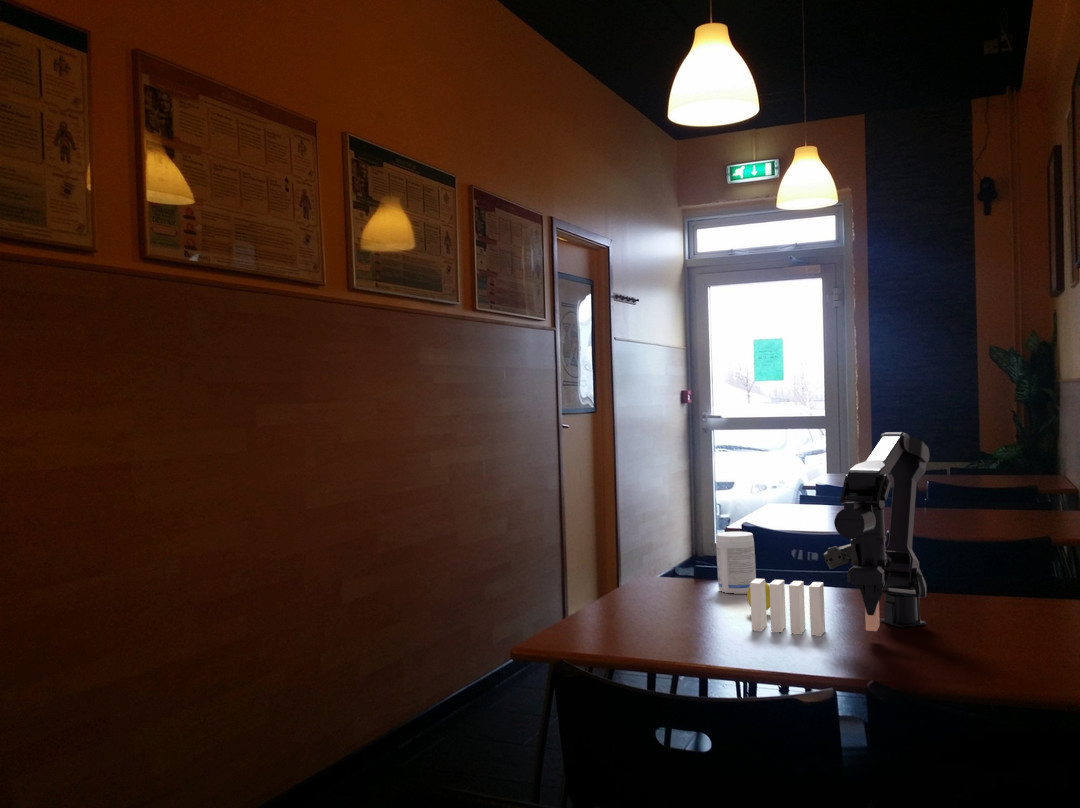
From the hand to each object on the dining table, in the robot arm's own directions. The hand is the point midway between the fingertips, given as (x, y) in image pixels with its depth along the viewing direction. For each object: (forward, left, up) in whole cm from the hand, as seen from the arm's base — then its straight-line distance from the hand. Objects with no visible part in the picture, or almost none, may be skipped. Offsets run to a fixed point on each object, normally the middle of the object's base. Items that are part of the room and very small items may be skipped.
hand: (872, 612), depth 168 cm
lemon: (+7, -30, -6) cm, 31 cm away
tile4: (+11, -16, -6) cm, 20 cm away
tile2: (+5, -10, -6) cm, 13 cm away
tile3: (+8, -13, -6) cm, 17 cm away
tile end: (+14, -19, -6) cm, 24 cm away
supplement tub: (-1, -54, -6) cm, 54 cm away
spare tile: (0, 0, -3) cm, 3 cm away
